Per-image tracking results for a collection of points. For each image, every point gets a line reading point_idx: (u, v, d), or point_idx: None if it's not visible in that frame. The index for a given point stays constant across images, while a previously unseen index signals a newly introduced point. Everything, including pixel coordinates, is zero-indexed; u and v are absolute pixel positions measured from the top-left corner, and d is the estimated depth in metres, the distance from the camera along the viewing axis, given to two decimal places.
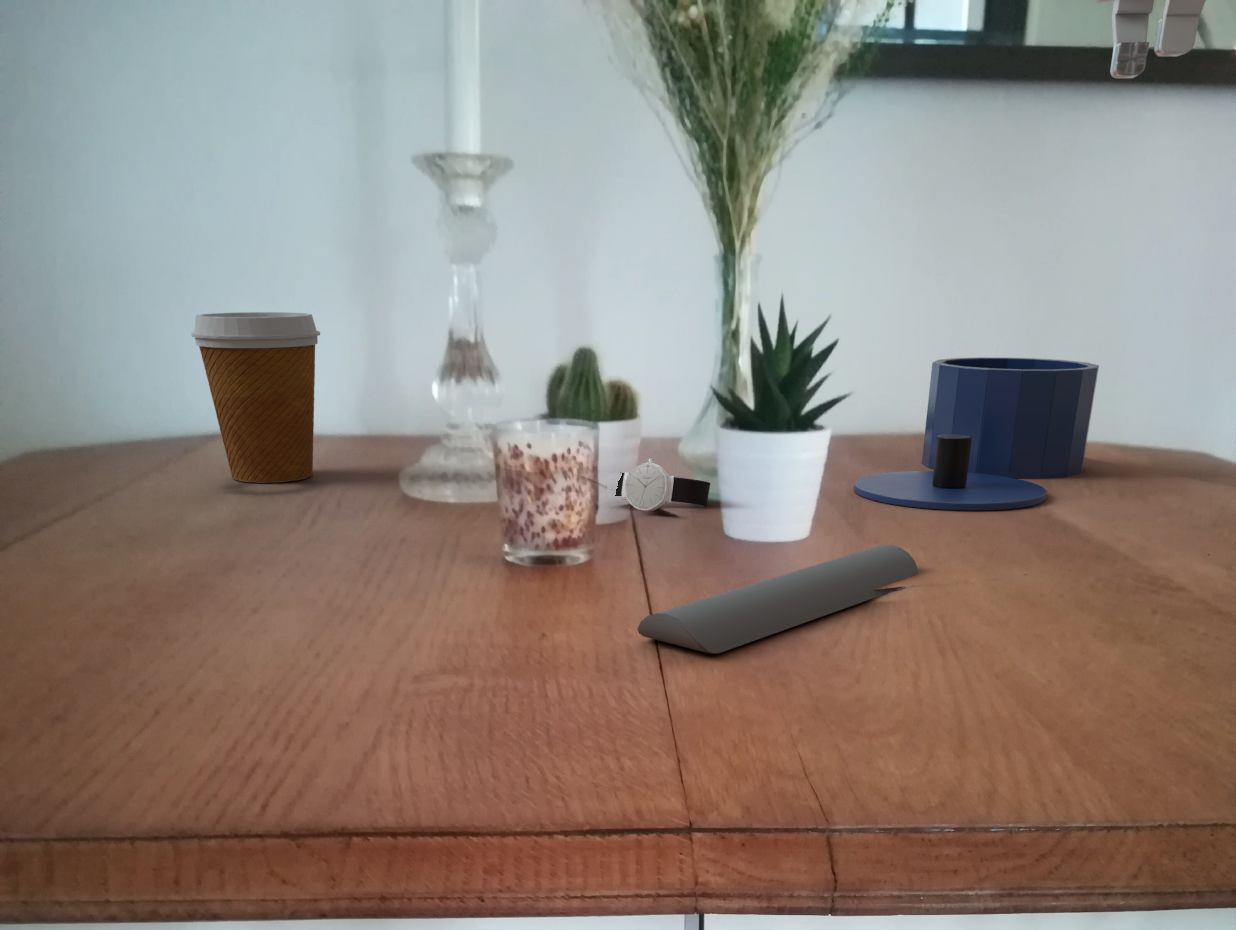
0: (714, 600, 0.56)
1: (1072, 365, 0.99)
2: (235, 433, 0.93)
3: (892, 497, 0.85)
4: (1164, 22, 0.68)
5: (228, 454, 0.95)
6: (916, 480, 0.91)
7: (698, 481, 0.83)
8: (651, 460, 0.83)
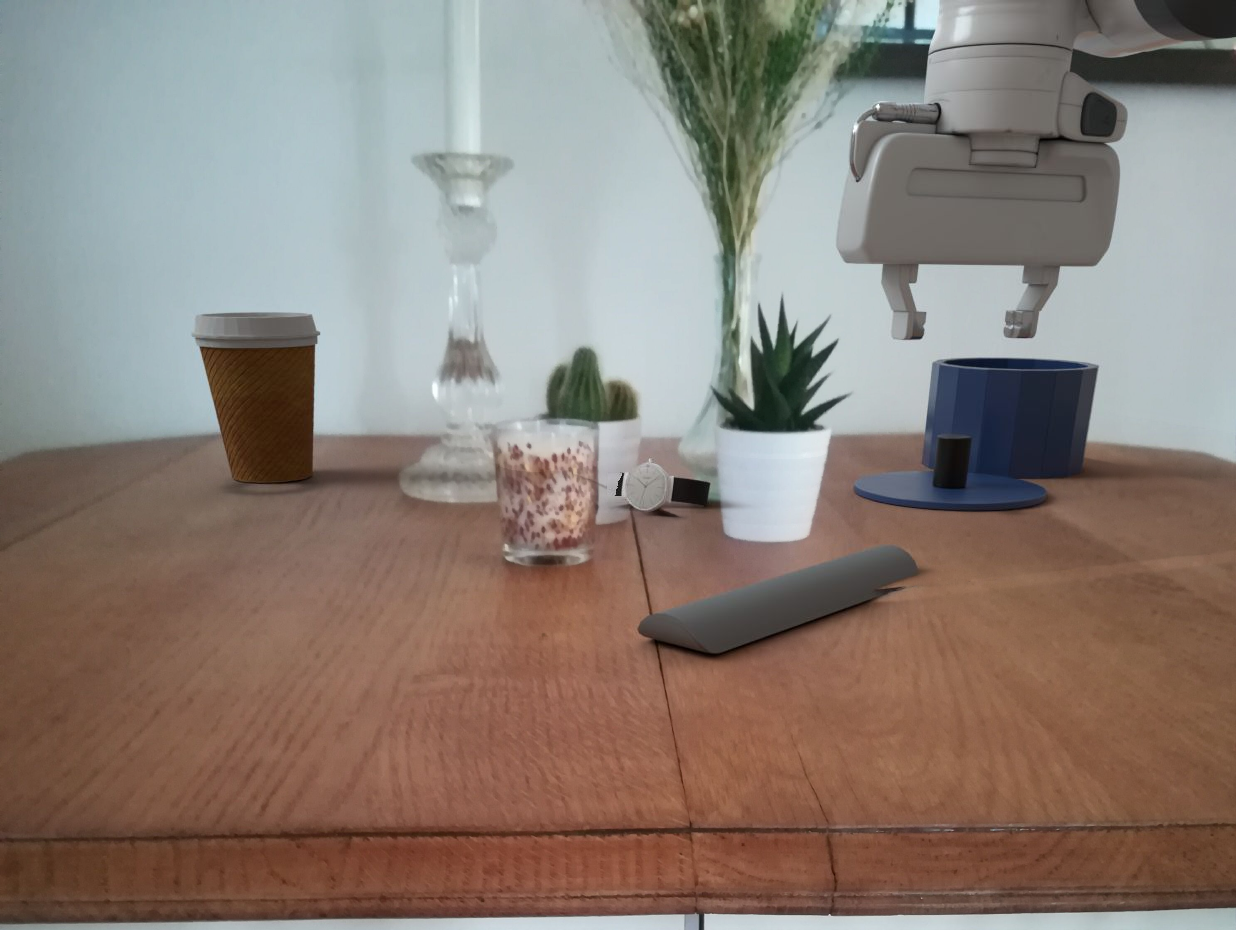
0: (714, 600, 0.56)
1: (1072, 365, 0.99)
2: (235, 433, 0.93)
3: (892, 497, 0.85)
4: None
5: (228, 454, 0.95)
6: (916, 480, 0.91)
7: (698, 481, 0.83)
8: (651, 460, 0.83)
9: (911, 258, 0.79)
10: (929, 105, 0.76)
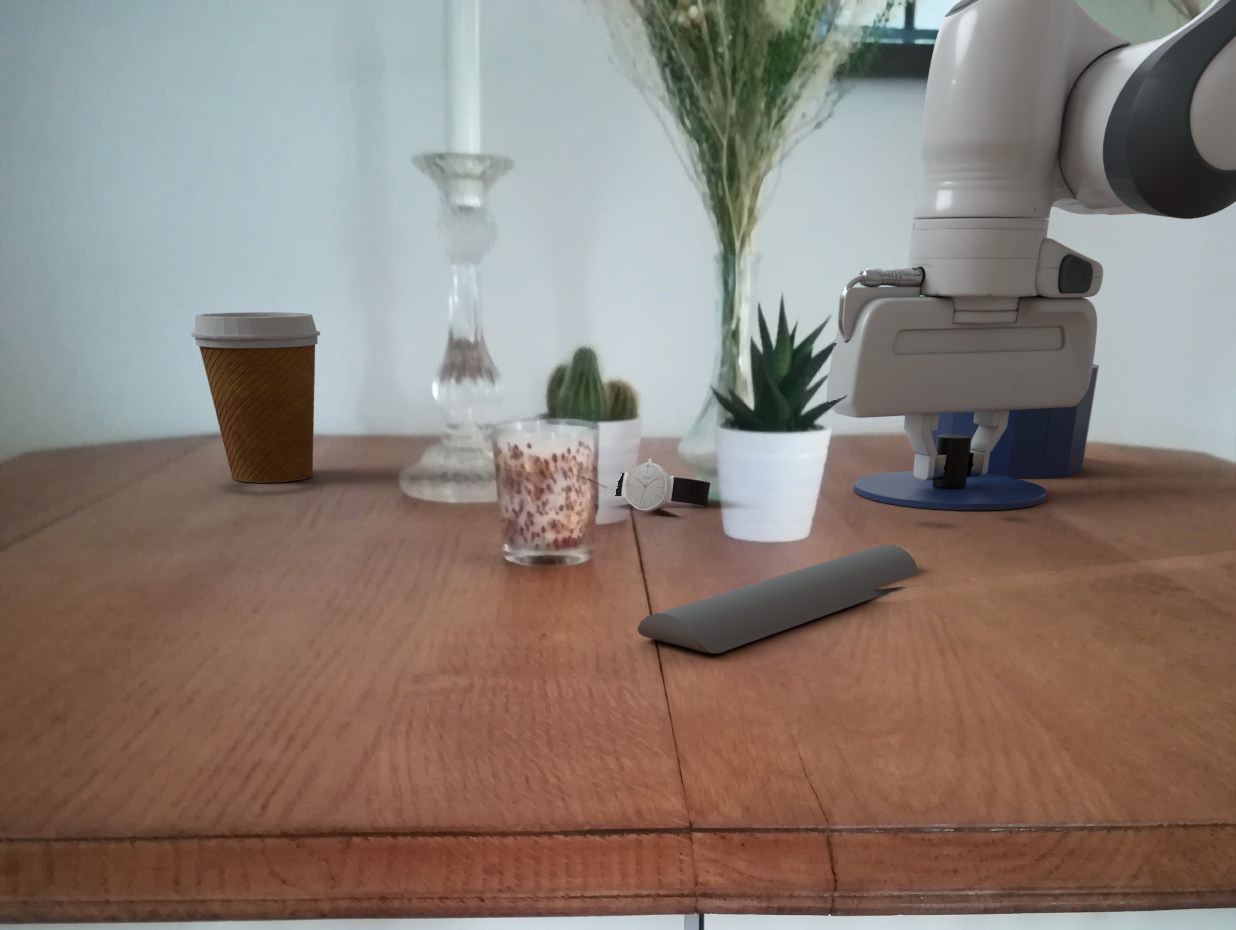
0: (714, 600, 0.56)
1: None
2: (235, 433, 0.93)
3: (892, 497, 0.85)
4: None
5: (228, 454, 0.95)
6: (916, 480, 0.91)
7: (698, 481, 0.83)
8: (651, 460, 0.83)
9: (898, 411, 0.83)
10: (914, 270, 0.80)
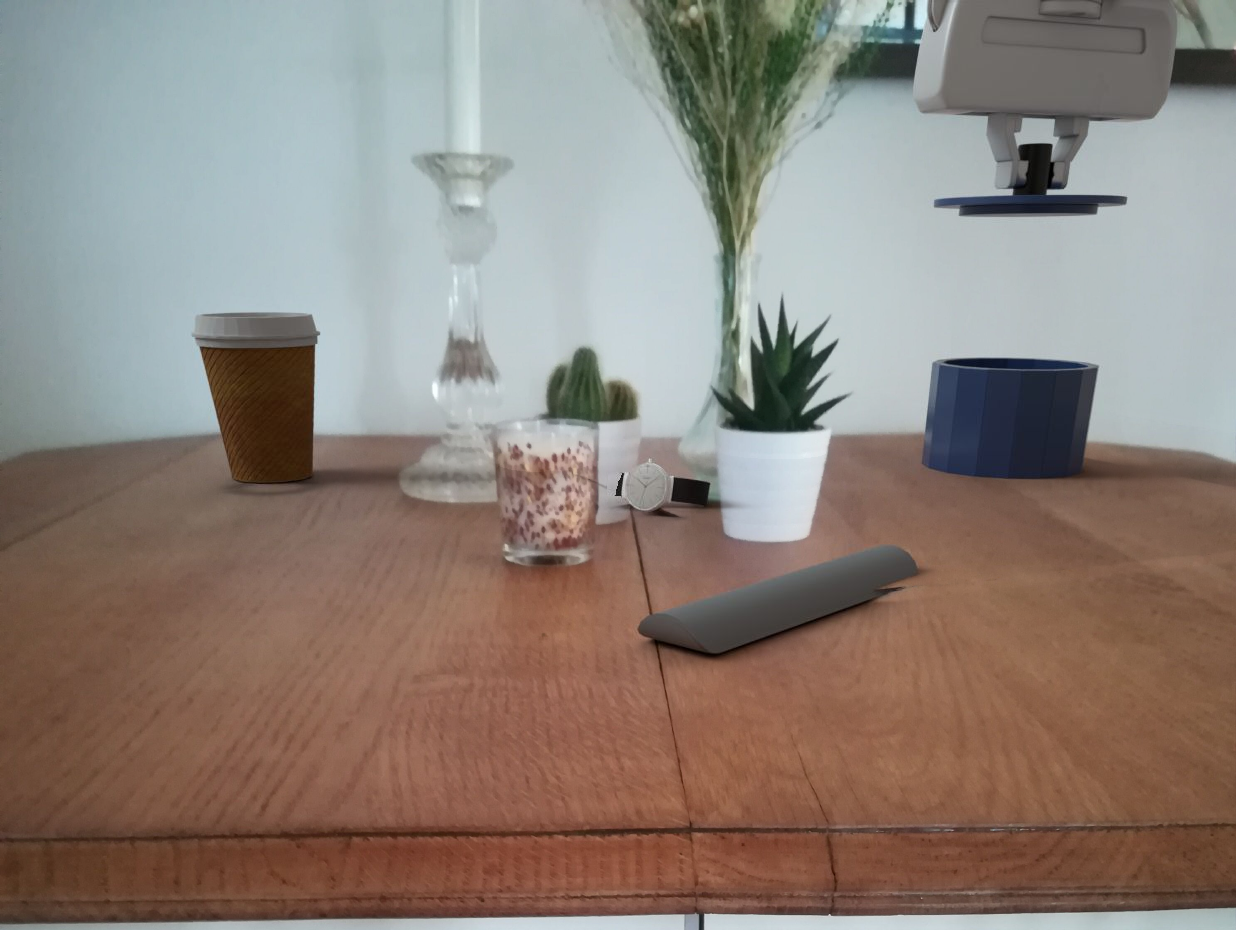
0: (714, 600, 0.56)
1: (1072, 365, 0.99)
2: (235, 433, 0.93)
3: (977, 196, 0.86)
4: (997, 166, 0.89)
5: (228, 454, 0.95)
6: None
7: (698, 481, 0.83)
8: (651, 460, 0.83)
9: (985, 105, 0.84)
10: None
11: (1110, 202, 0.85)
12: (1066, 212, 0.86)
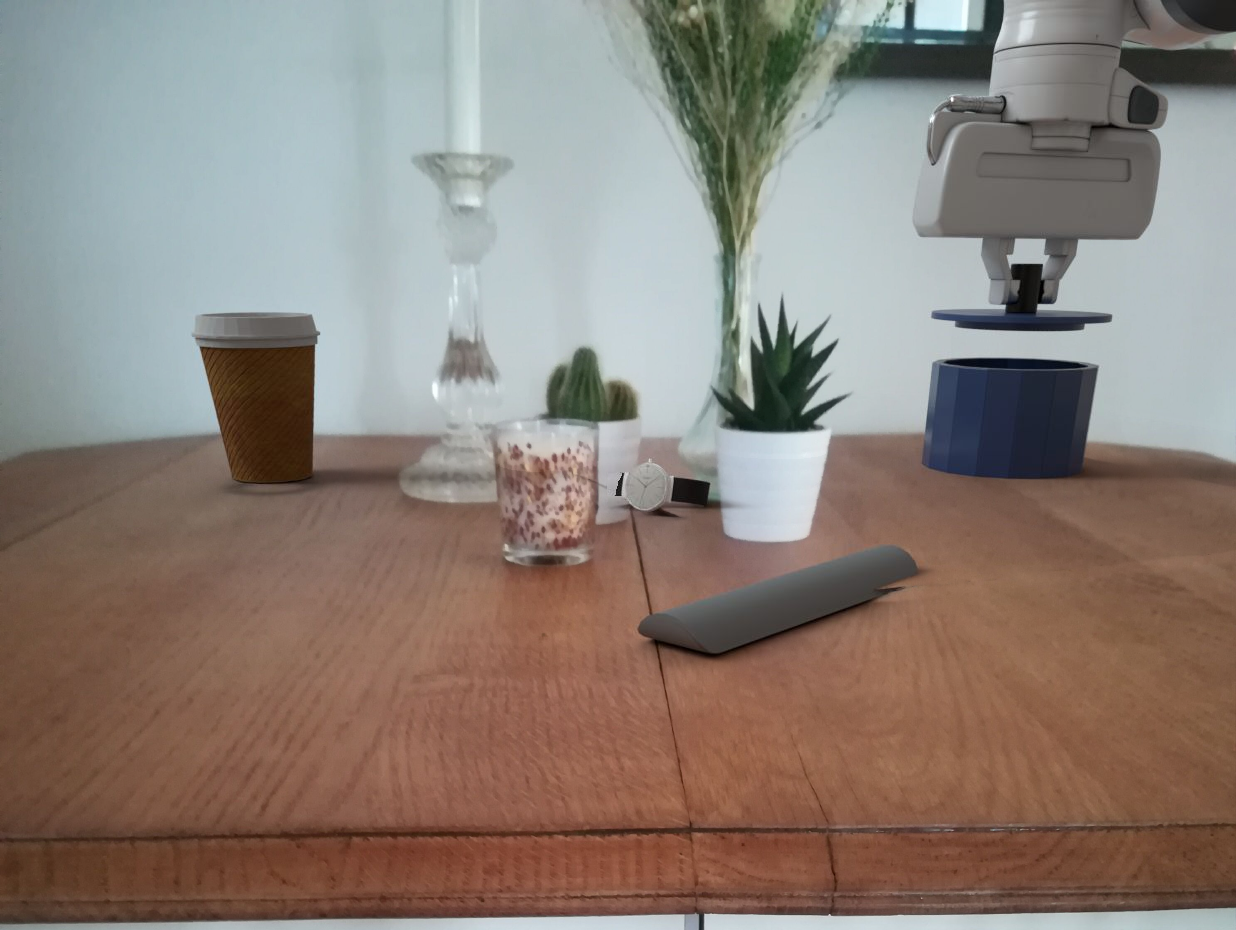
0: (714, 600, 0.56)
1: (1072, 365, 0.99)
2: (235, 433, 0.93)
3: (971, 315, 0.92)
4: (991, 283, 0.95)
5: (228, 454, 0.95)
6: None
7: (698, 481, 0.83)
8: (651, 460, 0.83)
9: (979, 232, 0.90)
10: (996, 97, 0.87)
11: (1096, 322, 0.91)
12: (1055, 330, 0.92)
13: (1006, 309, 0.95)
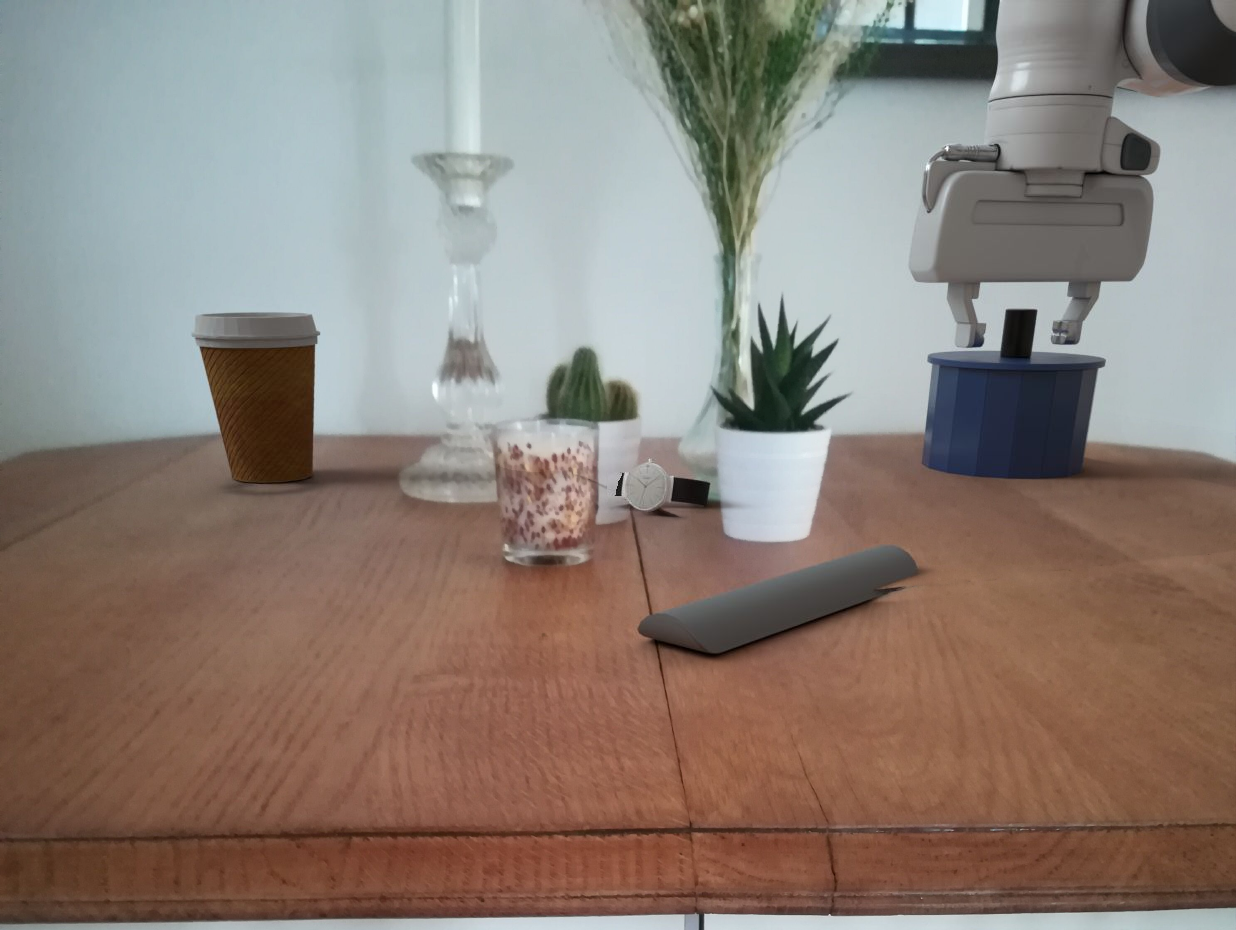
0: (714, 600, 0.56)
1: None
2: (235, 433, 0.93)
3: (966, 361, 0.93)
4: (957, 326, 0.95)
5: (228, 454, 0.95)
6: (984, 354, 0.99)
7: (698, 481, 0.83)
8: (651, 460, 0.83)
9: (974, 277, 0.91)
10: (990, 146, 0.89)
11: (1089, 368, 0.92)
12: None
13: (1001, 353, 0.97)
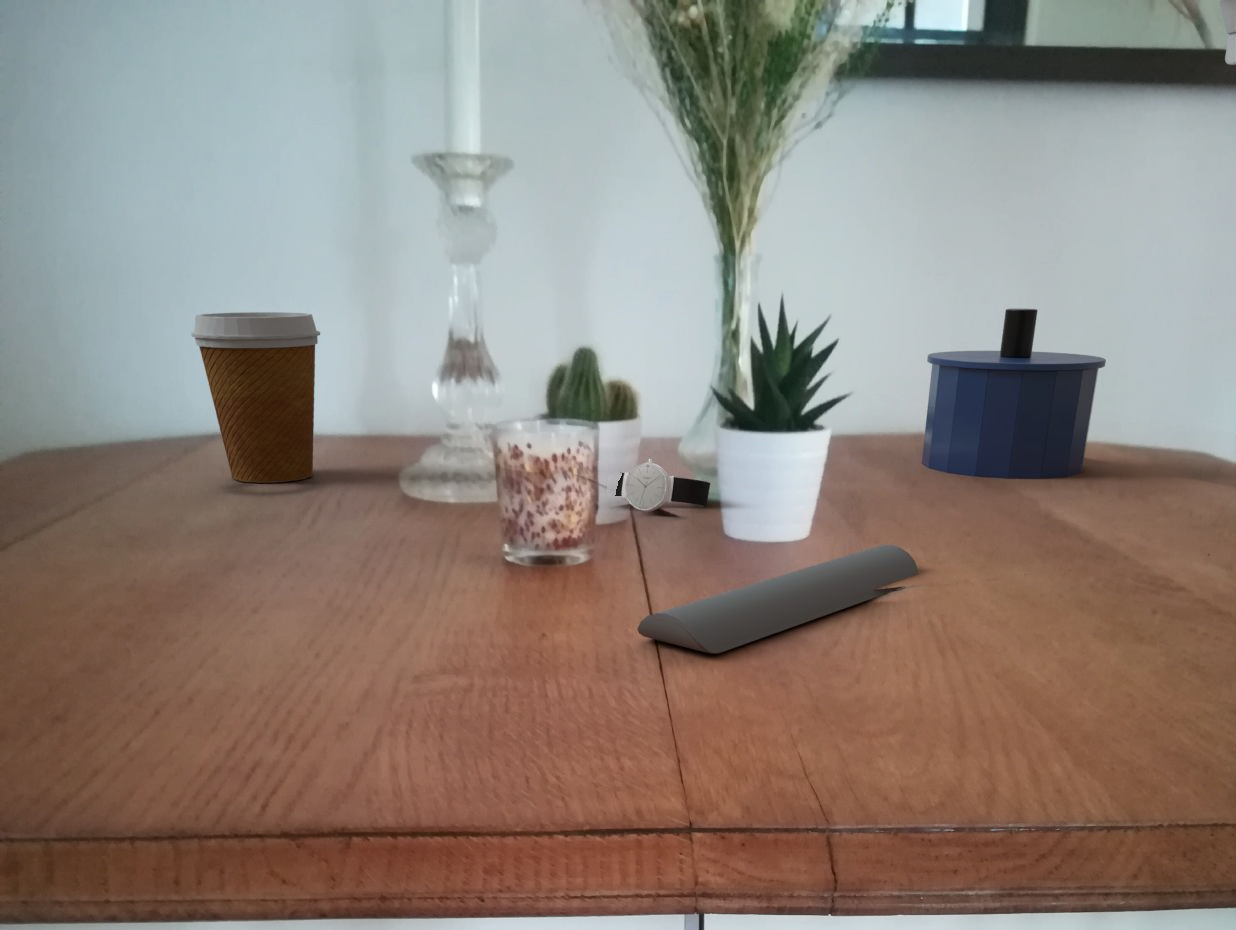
0: (714, 600, 0.56)
1: None
2: (235, 433, 0.93)
3: (966, 361, 0.93)
4: (1229, 39, 0.81)
5: (228, 454, 0.95)
6: (984, 354, 0.99)
7: (698, 481, 0.83)
8: (651, 460, 0.83)
9: None
10: None
11: (1089, 368, 0.92)
12: None
13: (1001, 353, 0.97)
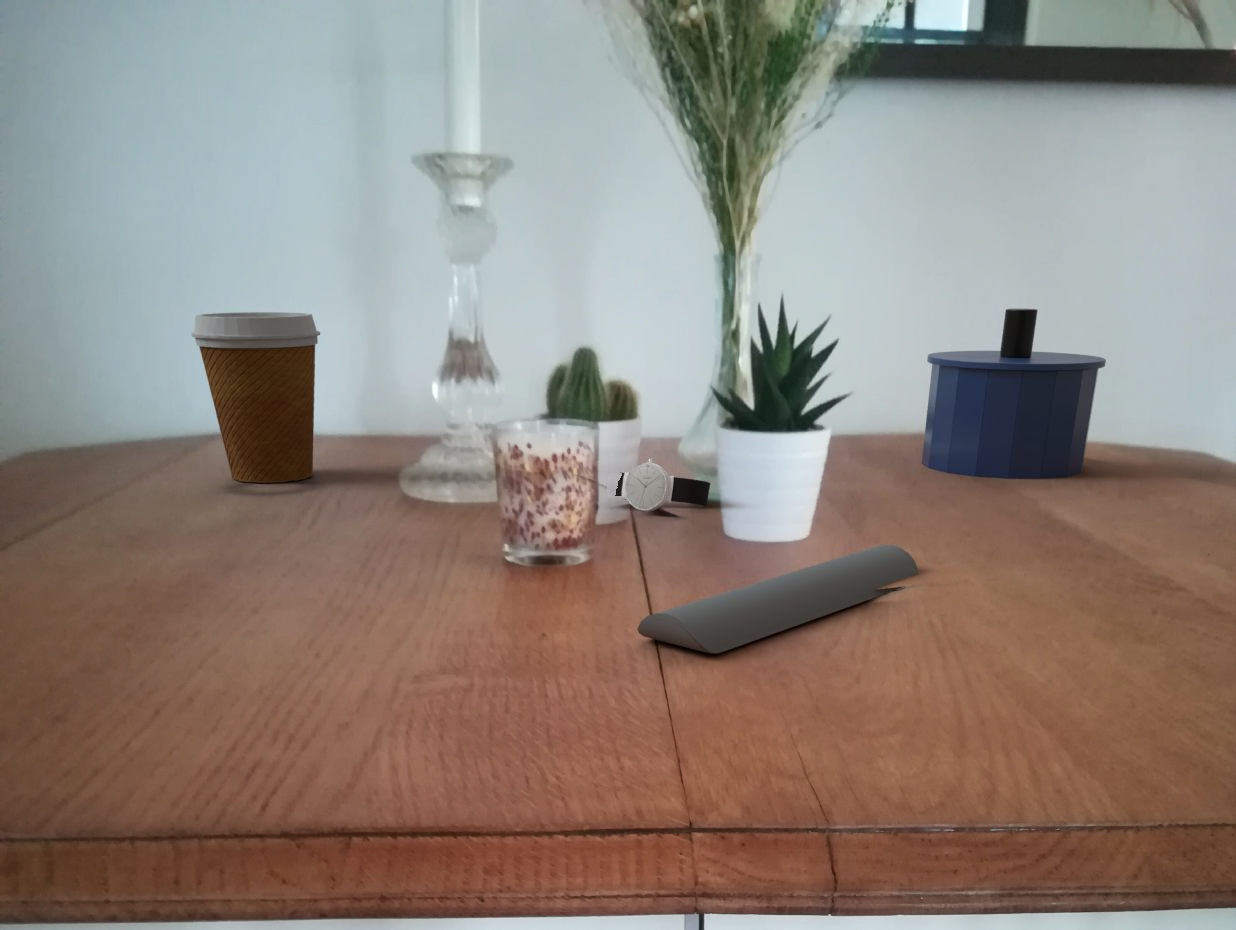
0: (714, 600, 0.56)
1: None
2: (235, 433, 0.93)
3: (966, 361, 0.93)
4: None
5: (228, 454, 0.95)
6: (984, 354, 0.99)
7: (698, 481, 0.83)
8: (651, 460, 0.83)
9: None
10: None
11: (1089, 368, 0.92)
12: None
13: (1001, 353, 0.97)
